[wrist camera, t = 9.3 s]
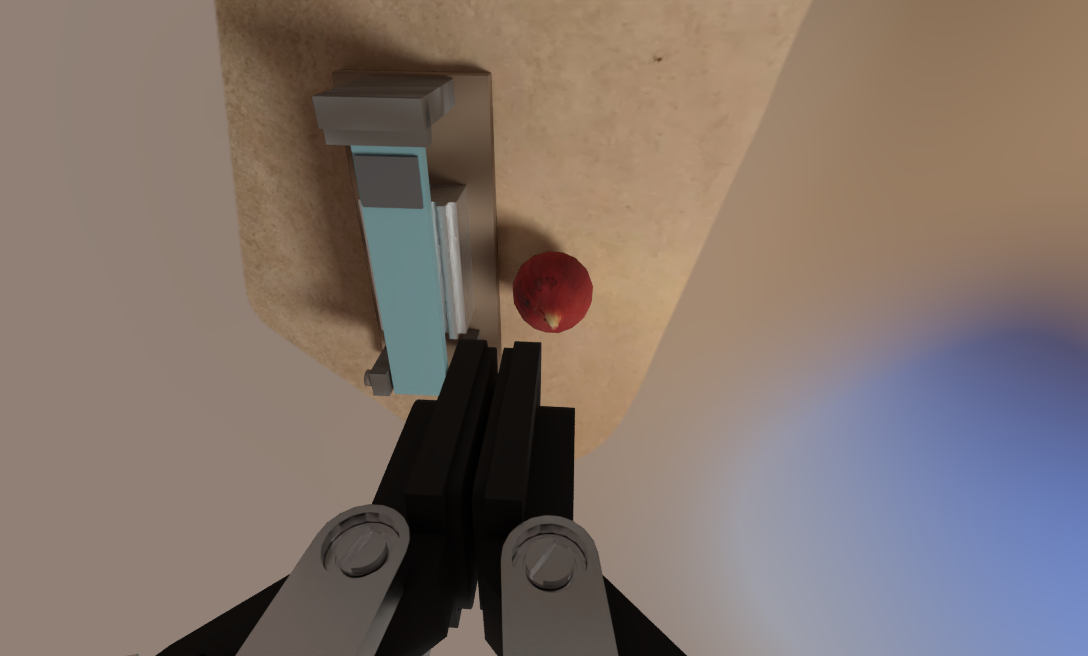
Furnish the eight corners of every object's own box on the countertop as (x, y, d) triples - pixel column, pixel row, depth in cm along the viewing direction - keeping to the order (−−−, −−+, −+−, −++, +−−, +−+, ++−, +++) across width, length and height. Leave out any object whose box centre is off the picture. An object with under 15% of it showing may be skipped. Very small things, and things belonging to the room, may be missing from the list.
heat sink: (376, 182, 37) (353, 203, 33) (466, 185, 37) (453, 206, 33) (396, 305, 42) (378, 335, 39) (474, 308, 42) (464, 339, 38)
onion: (507, 285, 43) (494, 340, 36) (534, 224, 40) (524, 270, 33) (573, 311, 43) (572, 369, 37) (604, 252, 40) (608, 303, 34)
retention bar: (357, 141, 30) (348, 146, 29) (424, 143, 30) (419, 148, 29) (398, 385, 40) (393, 396, 39) (450, 387, 40) (446, 398, 39)
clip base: (340, 69, 35) (268, 91, 27) (491, 72, 34) (463, 95, 26) (390, 354, 47) (351, 428, 39) (501, 359, 46) (485, 435, 38)
